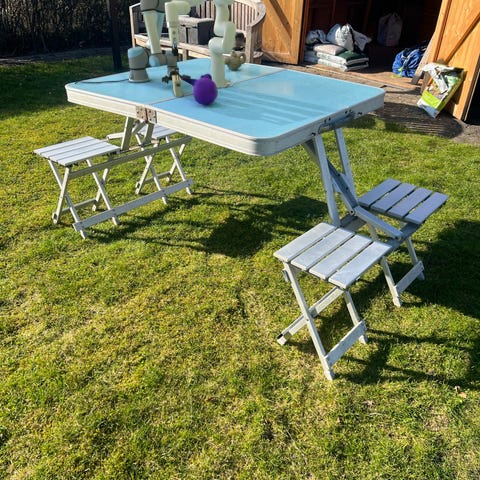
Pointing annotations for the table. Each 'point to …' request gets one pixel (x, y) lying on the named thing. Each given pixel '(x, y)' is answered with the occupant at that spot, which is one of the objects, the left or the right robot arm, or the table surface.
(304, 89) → the table surface
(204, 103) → the toy
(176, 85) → the cream suitcase
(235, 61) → the teapot
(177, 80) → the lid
